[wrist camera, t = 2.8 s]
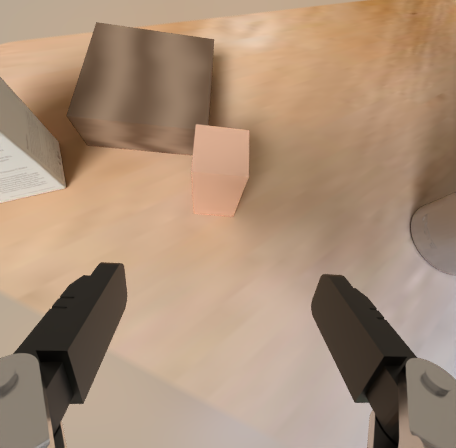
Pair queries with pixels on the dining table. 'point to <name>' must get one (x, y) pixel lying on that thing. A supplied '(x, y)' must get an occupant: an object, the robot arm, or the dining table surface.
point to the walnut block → (143, 90)
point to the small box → (26, 151)
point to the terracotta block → (219, 169)
